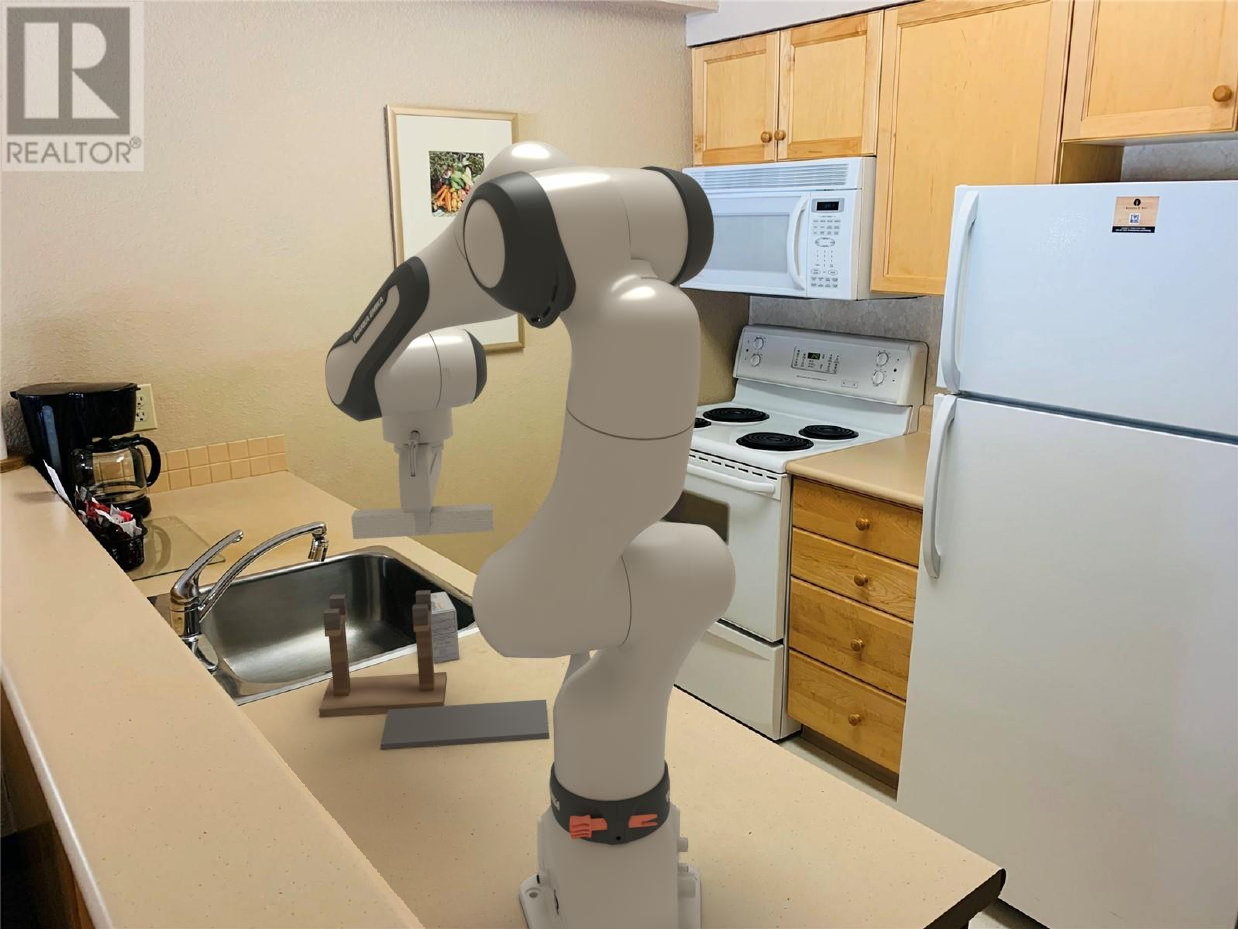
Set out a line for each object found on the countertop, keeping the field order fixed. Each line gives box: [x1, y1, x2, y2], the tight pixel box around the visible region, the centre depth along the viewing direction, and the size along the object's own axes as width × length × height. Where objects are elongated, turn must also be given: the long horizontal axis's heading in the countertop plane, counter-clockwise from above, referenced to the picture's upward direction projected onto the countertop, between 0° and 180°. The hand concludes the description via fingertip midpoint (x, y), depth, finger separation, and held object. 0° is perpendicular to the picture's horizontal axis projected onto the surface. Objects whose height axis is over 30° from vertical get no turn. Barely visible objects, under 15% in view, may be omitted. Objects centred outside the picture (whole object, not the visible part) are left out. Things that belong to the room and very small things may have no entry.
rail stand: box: [318, 589, 448, 718], centre depth 136 cm, size 9×17×15 cm, turn 97°
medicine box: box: [431, 591, 460, 664], centre depth 151 cm, size 8×4×9 cm, turn 22°
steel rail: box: [350, 502, 495, 540], centre depth 126 cm, size 3×18×3 cm, turn 97°
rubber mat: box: [380, 699, 550, 750], centre depth 131 cm, size 9×22×1 cm, turn 97°
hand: (424, 527), depth 126 cm, fingers closed on steel rail, 3 cm apart
